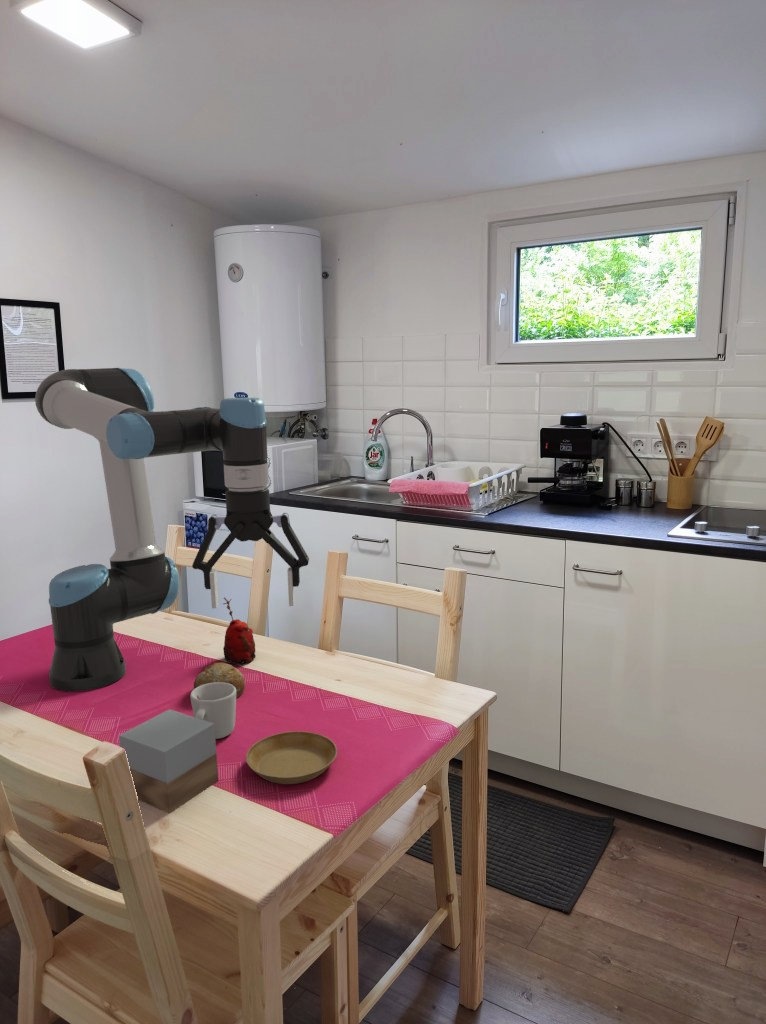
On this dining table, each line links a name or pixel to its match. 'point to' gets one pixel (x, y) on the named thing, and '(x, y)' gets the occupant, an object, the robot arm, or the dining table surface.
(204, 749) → the grey block
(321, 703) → the dining table surface
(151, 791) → the walnut block
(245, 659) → the red textured ornament
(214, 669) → the bread roll
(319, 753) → the plant saucer
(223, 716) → the cup
